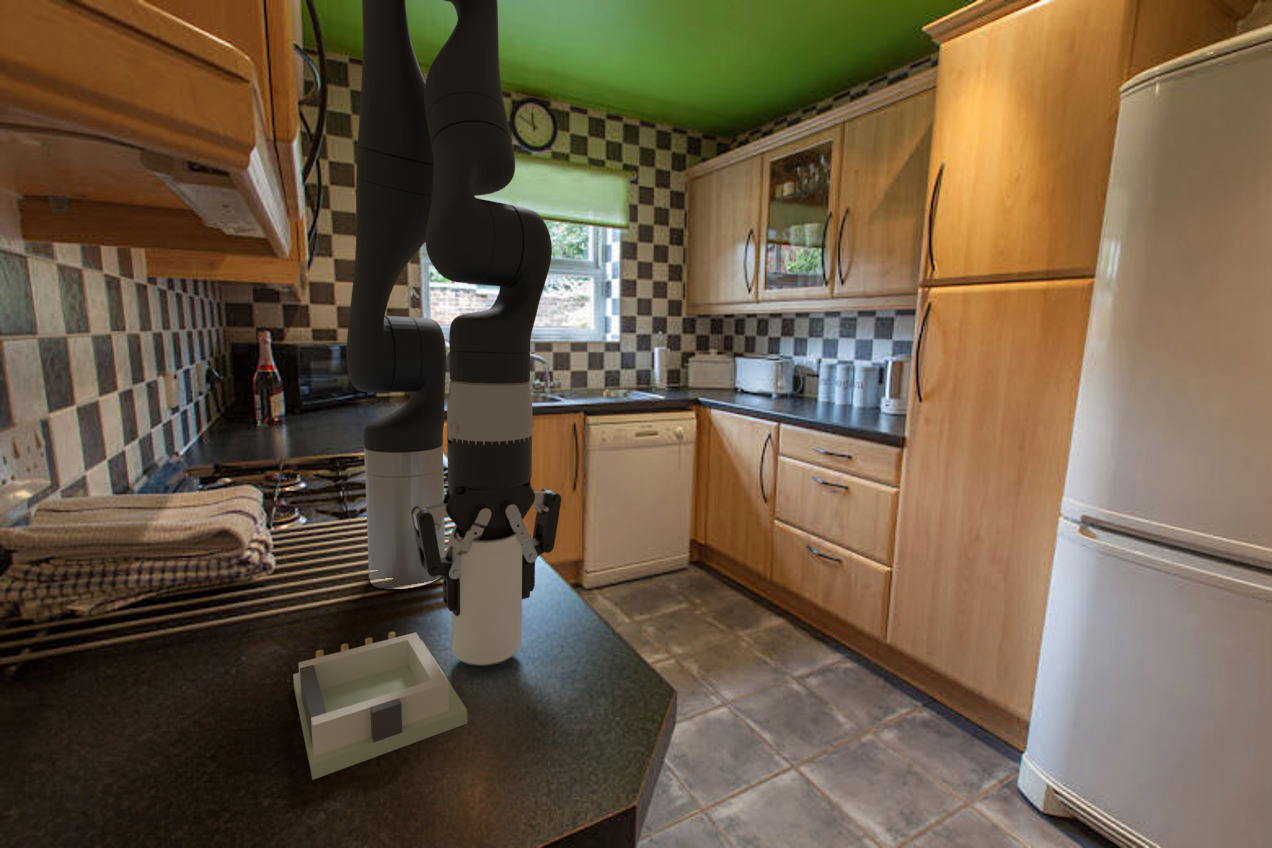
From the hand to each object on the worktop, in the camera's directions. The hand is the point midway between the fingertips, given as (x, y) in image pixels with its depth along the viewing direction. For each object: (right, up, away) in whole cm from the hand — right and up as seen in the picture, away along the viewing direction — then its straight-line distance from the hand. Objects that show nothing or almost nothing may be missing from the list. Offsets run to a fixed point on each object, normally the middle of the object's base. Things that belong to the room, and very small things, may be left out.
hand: (490, 603), depth 55 cm
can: (-1, -5, +1) cm, 5 cm away
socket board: (-8, -7, -6) cm, 12 cm away
